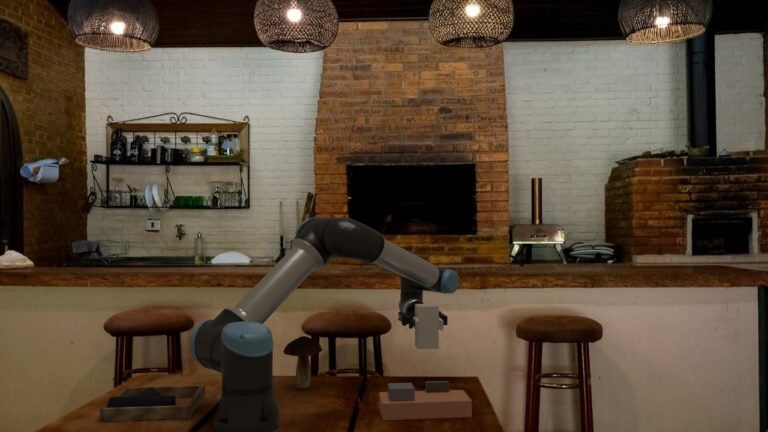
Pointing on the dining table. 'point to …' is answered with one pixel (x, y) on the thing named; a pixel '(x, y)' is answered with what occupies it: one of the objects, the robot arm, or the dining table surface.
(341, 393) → the dining table surface
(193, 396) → the frame
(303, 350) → the decorative mushroom
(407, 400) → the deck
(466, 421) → the dining table surface
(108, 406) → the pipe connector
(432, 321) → the tall grey brick
